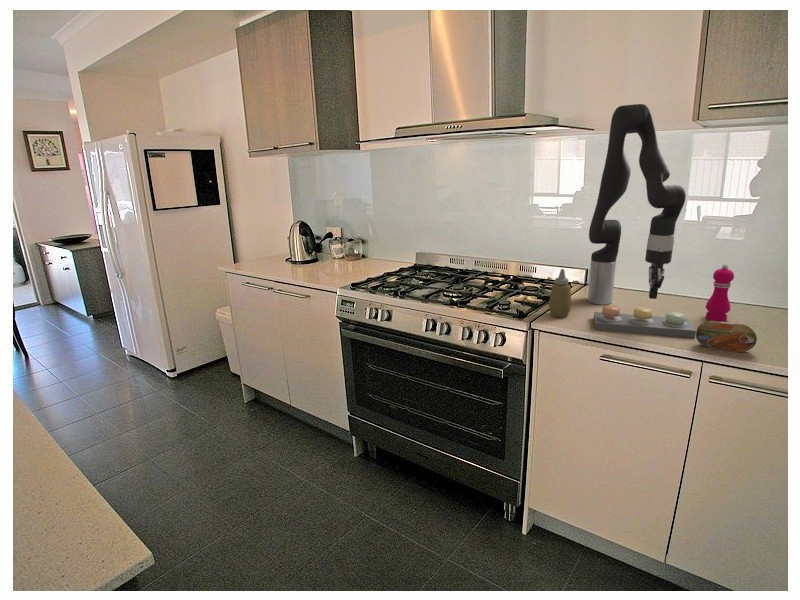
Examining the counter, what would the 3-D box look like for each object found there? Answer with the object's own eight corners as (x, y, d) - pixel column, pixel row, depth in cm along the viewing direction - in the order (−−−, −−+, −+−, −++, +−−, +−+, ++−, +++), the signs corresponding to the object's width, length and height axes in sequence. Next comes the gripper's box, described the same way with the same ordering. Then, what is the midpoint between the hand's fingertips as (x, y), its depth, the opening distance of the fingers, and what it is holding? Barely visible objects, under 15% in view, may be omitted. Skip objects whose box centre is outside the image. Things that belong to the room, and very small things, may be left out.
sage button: (664, 318, 158) (665, 311, 158) (682, 319, 156) (683, 312, 156) (667, 323, 153) (668, 316, 153) (686, 324, 151) (687, 318, 151)
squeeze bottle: (544, 316, 174) (546, 269, 168) (554, 310, 179) (557, 265, 174) (564, 320, 168) (568, 273, 163) (574, 315, 174) (578, 268, 168)
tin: (693, 346, 143) (698, 320, 140) (693, 342, 146) (698, 317, 143) (753, 354, 136) (759, 328, 133) (752, 350, 138) (758, 324, 136)
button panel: (593, 318, 170) (594, 311, 169) (686, 325, 159) (687, 318, 159) (594, 329, 159) (595, 322, 158) (694, 337, 149) (696, 330, 148)
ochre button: (632, 313, 161) (633, 306, 161) (650, 314, 160) (651, 308, 159) (634, 318, 156) (635, 311, 156) (652, 319, 155) (653, 313, 154)
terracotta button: (601, 311, 165) (602, 304, 164) (618, 312, 163) (619, 306, 162) (602, 316, 160) (602, 309, 159) (620, 317, 158) (620, 310, 157)
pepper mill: (732, 322, 161) (742, 266, 155) (709, 321, 162) (718, 266, 156) (722, 315, 167) (732, 262, 162) (700, 315, 169) (709, 261, 163)
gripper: (643, 243, 158) (637, 292, 163) (650, 251, 146) (643, 303, 151) (668, 244, 155) (661, 293, 161) (677, 252, 143) (669, 304, 149)
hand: (652, 298), depth 156 cm, fingers closed
